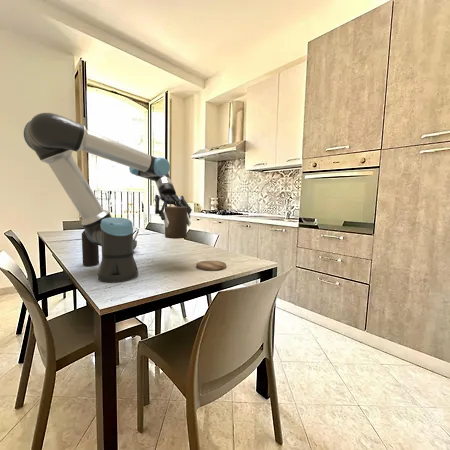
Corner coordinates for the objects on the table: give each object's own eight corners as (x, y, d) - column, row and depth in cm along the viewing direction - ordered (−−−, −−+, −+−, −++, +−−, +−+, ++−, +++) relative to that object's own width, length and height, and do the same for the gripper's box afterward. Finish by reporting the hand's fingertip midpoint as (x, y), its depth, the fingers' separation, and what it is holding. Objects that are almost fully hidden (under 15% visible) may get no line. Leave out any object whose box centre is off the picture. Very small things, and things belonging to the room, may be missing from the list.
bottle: (92, 267, 117) (90, 223, 115) (79, 265, 119) (77, 222, 116) (102, 263, 124) (100, 221, 122) (89, 262, 125) (88, 221, 123)
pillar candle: (184, 239, 110) (185, 204, 109) (162, 238, 111) (162, 203, 109) (188, 236, 120) (189, 204, 119) (167, 235, 120) (168, 203, 119)
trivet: (215, 272, 112) (215, 269, 112) (190, 267, 119) (190, 264, 119) (231, 265, 124) (231, 263, 124) (207, 261, 131) (207, 258, 131)
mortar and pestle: (140, 252, 150) (140, 231, 149) (129, 255, 141) (129, 233, 140) (124, 250, 154) (123, 230, 152) (113, 253, 145) (112, 232, 143)
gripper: (185, 195, 132) (198, 229, 121) (141, 193, 120) (151, 231, 109) (189, 184, 127) (204, 218, 116) (144, 181, 115) (155, 219, 104)
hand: (178, 224), depth 112 cm, fingers closed on pillar candle, 10 cm apart
